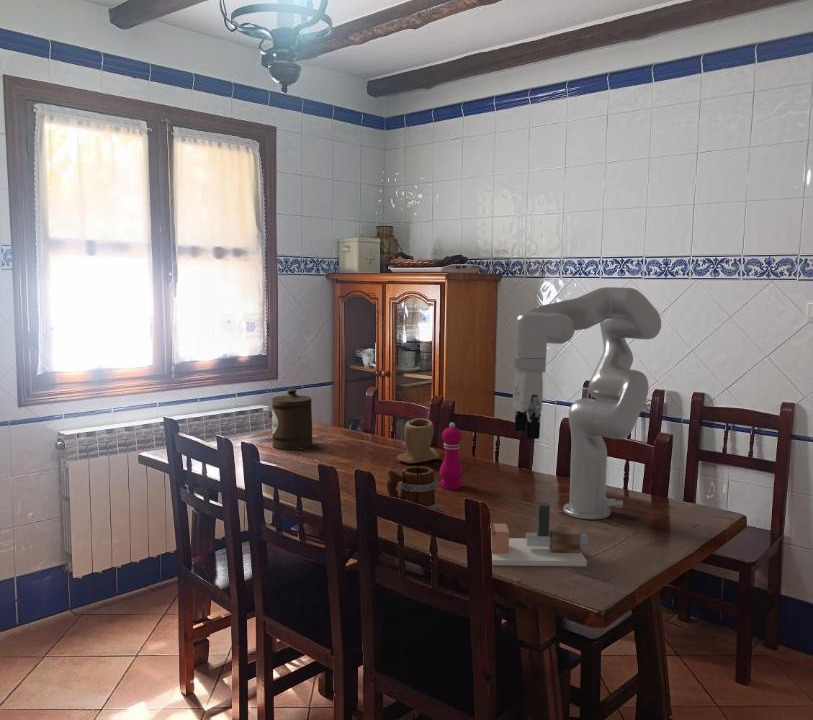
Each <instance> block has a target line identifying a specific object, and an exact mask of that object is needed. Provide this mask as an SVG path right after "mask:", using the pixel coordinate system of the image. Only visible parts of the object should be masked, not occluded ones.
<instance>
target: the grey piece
mask: <svg viewBox="0 0 813 720" xmlns="http://www.w3.org/2000/svg"><path fill="white" fill-rule="evenodd" d="M536 505H537V508H536V516H537V517H536V532H525V538H526V545H527V546H540V547H551V537H552V536H551V534H550V533H549V527H550V512H551V511H550V509H551V508H550V504H549V502H537V503H536ZM580 534H581V536H580V548H588V547H589V545H588V543H589V536H588V535H587V534H586V533H581V532H580Z"/></svg>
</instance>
